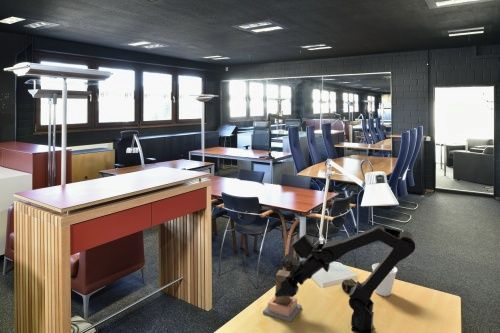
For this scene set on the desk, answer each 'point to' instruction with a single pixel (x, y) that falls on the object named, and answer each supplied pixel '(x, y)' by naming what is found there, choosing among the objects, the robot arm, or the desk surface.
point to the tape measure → (348, 284)
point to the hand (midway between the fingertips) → (279, 289)
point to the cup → (386, 282)
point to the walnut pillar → (279, 277)
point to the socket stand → (282, 309)
